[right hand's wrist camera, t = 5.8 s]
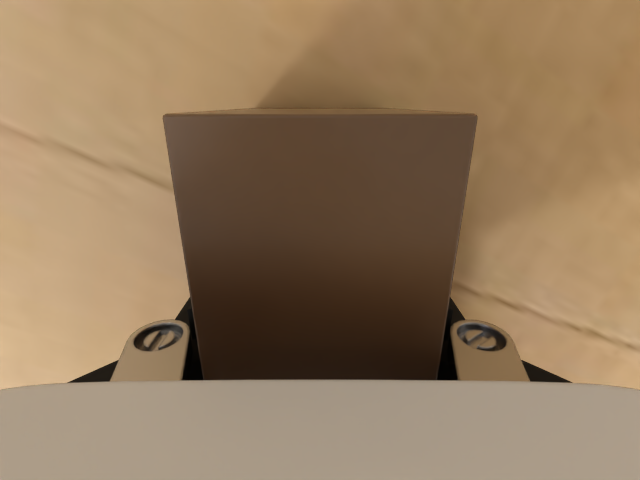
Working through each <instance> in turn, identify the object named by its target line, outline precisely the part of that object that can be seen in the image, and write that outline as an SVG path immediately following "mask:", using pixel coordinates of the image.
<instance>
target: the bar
mask: <svg viewBox="0 0 640 480" xmlns="http://www.w3.org/2000/svg"><path fill="white" fill-rule="evenodd" d="M163 122H164V129H165V135H166V142H167V148H168V155H169V161H170V168H171V174H172V181H173V187H174V194H175V200H176V207H177V213H178V220H179V226H180V233H181V239H182V246H183V252H184V259H185V265H186V272H187V278H188V285H189V291H190V298H191V304H192V311H193V317H194V324H195V330H196V337H197V343H198V350H199V356H200V363H201V369H202V376H203V380H437V377H438V370H439V364H440V357H441V351H442V345H443V338H444V332H445V325H446V319H447V312H448V306H449V299H450V293H451V286H452V280H453V273H454V267H455V260H456V254H457V247H458V241H459V234H460V228H461V221H462V215H463V208H464V202H465V195H466V189H467V182H468V176H469V169H470V163H471V156H472V150H473V143H474V137H475V130H476V124H477V115H475V114H470V113H454V112H438V111H422V110H406V109H390V108H251V109H235V110H219V111H203V112H187V113H171V114H165V115H163Z"/></svg>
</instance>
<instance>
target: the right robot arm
mask: <svg viewBox="0 0 640 480" xmlns="http://www.w3.org/2000/svg"><path fill="white" fill-rule="evenodd" d="M0 480H640V390H637V389H632V388H625V387H618V386H609V385H598V384H585V383H572V382H570V381H568V380H566V379H563V378H561V377H559V376H557V375H554V374H552V373H550V372H548V371H545V370H543V369H541V368H539V367H536V366H534V365H532V364H530V363H527V362H525V361H523V360H521V359H520V356H519V354H518V352H517V349H516V347H515V345H514V342H513V340H512V339H511V337H510V336H509V335H508V334H507V333H506V332H505V331H504V330H502V329H500V328H499V327H497V326H495V325H493V324H490V323H487V322H483V321H479V320H465V318H464V317H463V315H462V314H461V312H460V311H459V309H458V308H457V306H456V305H455V303H454V302H453V300H452V299H451V297H450V299H449V306H448V312H447V319H446V325H445V332H444V338H443V345H442V351H441V357H440V364H439V370H438V377H437V380H203V376H202V369H201V363H200V356H199V350H198V343H197V337H196V330H195V324H194V317H193V311H192V304H191V298H189V299H188V301H187V302H186V304H185V305H184V307H183V308H182V310H181V311H180V313H179V314H178V316H177V317H176V319H175V320H161V321H157V322H153V323H150V324H147V325H145V326H143V327H141V328H140V329H138V330H136V331H135V332H134V333H133V334H132V335H131V336H130V337H129V339H128V340H127V342H126V345H125V347H124V349H123V352H122V354H121V356H120V359H119V360H117V361H115V362H113V363H111V364H108V365H106V366H104V367H102V368H99V369H97V370H95V371H93V372H90V373H88V374H86V375H84V376H81V377H79V378H77V379H75V380H72V381H70V382H68V383H55V384H42V385H31V386H22V387H15V388H8V389H2V390H0Z"/></svg>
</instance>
